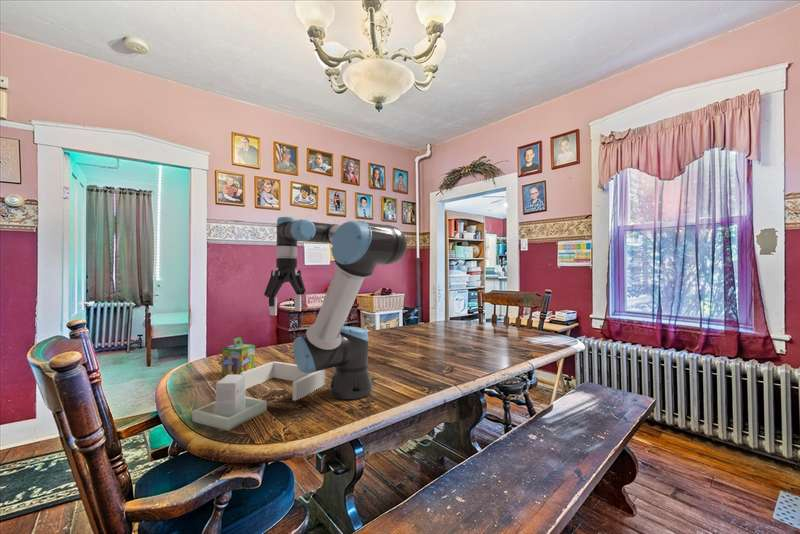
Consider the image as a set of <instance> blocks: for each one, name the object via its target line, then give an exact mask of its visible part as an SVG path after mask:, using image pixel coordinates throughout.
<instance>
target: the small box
mask: <svg viewBox="0 0 800 534" xmlns="http://www.w3.org/2000/svg"><path fill="white" fill-rule="evenodd" d="M246 390H247V389H246V375H227V376H225V377H223V378H221V379H220V380H219V381H217V382H216V383H215V401H216V415H220V416H224V417H228V418H229V417H231V416H233V415H235V414H237V413H239V412H241V411H242V410H243V409H244V408H245V396H246V392H247V391H246Z"/></svg>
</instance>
